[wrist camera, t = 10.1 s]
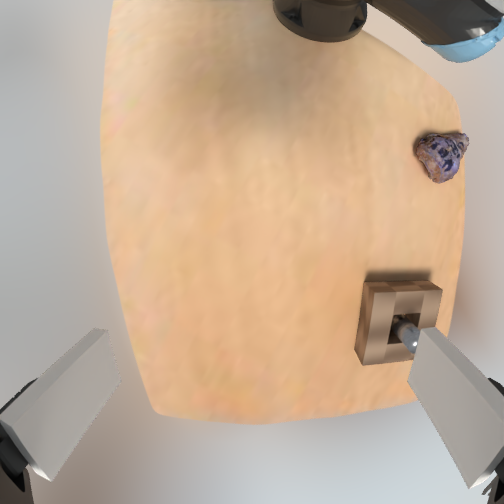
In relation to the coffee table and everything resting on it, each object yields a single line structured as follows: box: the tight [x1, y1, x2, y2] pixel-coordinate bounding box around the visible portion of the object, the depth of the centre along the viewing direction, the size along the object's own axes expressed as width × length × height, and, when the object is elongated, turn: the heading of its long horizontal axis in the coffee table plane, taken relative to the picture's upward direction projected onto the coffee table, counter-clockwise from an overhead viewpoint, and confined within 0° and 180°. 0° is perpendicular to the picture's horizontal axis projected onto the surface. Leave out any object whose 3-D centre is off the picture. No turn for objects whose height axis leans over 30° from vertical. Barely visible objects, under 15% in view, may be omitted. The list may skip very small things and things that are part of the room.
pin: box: [391, 314, 420, 354], centre depth 38 cm, size 3×3×10 cm
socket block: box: [354, 280, 443, 366], centre depth 40 cm, size 12×12×5 cm
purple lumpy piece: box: [416, 133, 469, 183], centre depth 34 cm, size 12×8×6 cm, turn 115°
